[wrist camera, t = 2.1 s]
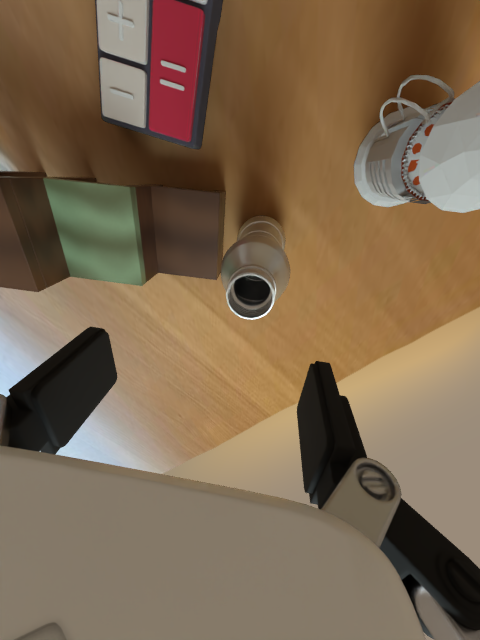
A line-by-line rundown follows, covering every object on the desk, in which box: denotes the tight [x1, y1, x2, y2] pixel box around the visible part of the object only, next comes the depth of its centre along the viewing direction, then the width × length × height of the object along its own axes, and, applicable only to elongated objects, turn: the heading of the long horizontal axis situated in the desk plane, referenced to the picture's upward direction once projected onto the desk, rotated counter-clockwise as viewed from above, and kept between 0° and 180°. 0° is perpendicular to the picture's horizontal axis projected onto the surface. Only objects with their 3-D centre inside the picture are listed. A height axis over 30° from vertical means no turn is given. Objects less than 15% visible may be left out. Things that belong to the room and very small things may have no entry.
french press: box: [354, 75, 480, 213], centre depth 18 cm, size 10×12×25 cm
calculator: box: [95, 0, 223, 149], centre depth 25 cm, size 11×4×15 cm
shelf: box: [0, 171, 226, 292], centre depth 30 cm, size 11×26×14 cm, turn 85°
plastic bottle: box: [221, 216, 290, 319], centre depth 26 cm, size 6×7×20 cm
